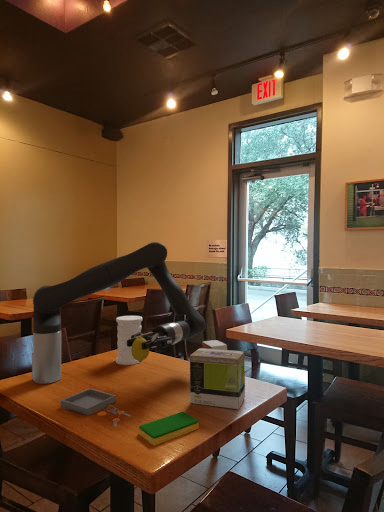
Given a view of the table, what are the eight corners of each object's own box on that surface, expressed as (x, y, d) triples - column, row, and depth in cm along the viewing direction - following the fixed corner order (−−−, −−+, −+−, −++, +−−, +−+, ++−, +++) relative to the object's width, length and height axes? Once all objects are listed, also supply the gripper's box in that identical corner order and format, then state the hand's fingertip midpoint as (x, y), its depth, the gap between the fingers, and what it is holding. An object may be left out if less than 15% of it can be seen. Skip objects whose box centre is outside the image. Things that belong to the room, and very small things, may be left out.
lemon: (150, 360, 117) (150, 335, 116) (147, 365, 111) (147, 339, 111) (133, 359, 117) (133, 334, 117) (129, 364, 112) (129, 338, 111)
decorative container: (111, 364, 148) (111, 319, 148) (121, 356, 159) (121, 315, 159) (138, 365, 146) (138, 320, 146) (146, 357, 157) (146, 315, 157)
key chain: (91, 412, 103) (91, 409, 103) (114, 405, 108) (114, 402, 108) (113, 428, 94) (113, 425, 94) (137, 420, 99) (137, 416, 99)
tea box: (245, 397, 113) (245, 350, 113) (238, 411, 104) (238, 359, 104) (199, 391, 118) (199, 346, 118) (189, 403, 109) (189, 354, 108)
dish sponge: (138, 435, 91) (138, 425, 91) (183, 419, 99) (183, 410, 99) (153, 447, 85) (153, 436, 85) (199, 429, 93) (199, 420, 93)
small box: (201, 377, 132) (201, 341, 132) (217, 374, 135) (217, 339, 135) (211, 384, 125) (211, 346, 125) (227, 381, 127) (227, 344, 127)
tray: (60, 407, 106) (60, 400, 106) (90, 394, 116) (90, 388, 116) (87, 416, 100) (87, 408, 100) (116, 402, 110) (116, 395, 110)
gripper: (151, 321, 130) (117, 329, 116) (184, 326, 122) (153, 335, 108) (151, 342, 130) (117, 353, 116) (184, 348, 122) (153, 360, 108)
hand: (135, 344), depth 112 cm, fingers closed on lemon, 5 cm apart
